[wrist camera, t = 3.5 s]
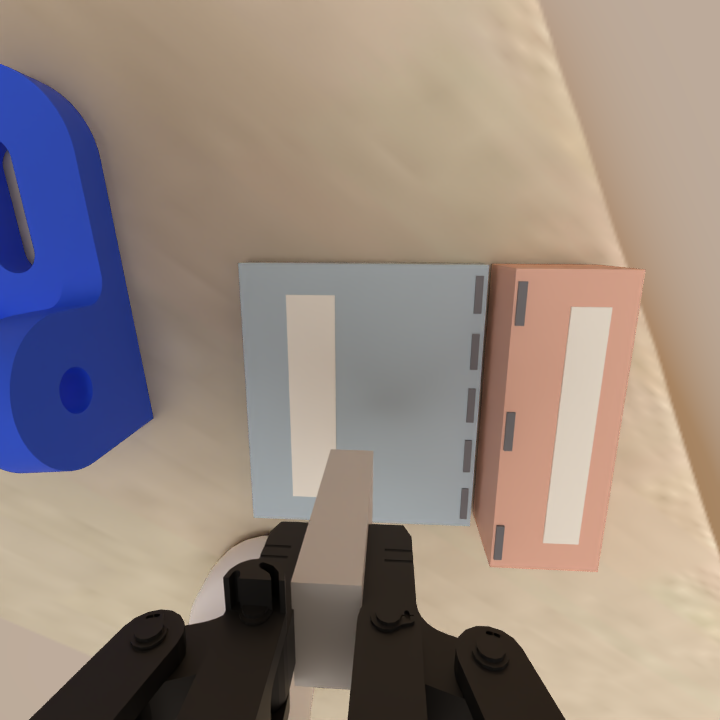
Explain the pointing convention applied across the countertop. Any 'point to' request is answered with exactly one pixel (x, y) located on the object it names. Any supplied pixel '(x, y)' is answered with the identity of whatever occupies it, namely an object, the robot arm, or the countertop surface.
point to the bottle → (213, 606)
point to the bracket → (61, 294)
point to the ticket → (364, 382)
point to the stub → (552, 410)
